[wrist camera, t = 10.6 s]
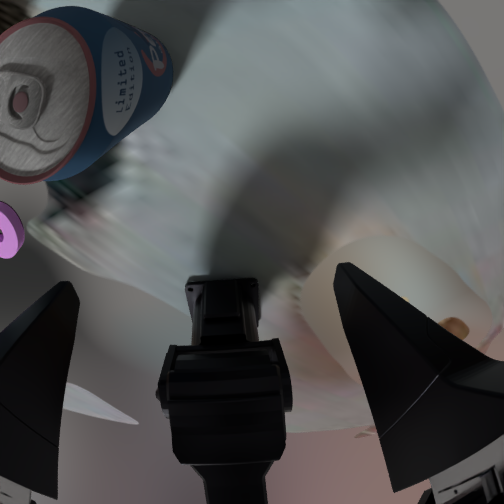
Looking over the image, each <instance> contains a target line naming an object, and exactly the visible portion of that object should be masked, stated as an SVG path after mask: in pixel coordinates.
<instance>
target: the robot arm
mask: <svg viewBox="0 0 504 504" xmlns="http://www.w3.org/2000/svg"><path fill="white" fill-rule="evenodd" d="M252 283H254V284H253V285H252ZM190 287H191V288H192V289H190ZM333 287H334V292H335V296H336V300H337V304H338V308H339V313H340V316H341V321H342V325H343V329H344V332H345V335H346V338H347V340H348V343H349V346H350V349H351V352H352V354H353V357H354V360H355V363H356V366H357V369H358V372H359V375H360V378H361V381H362V384H363V387H364V390H365V394H366V397H367V400H368V403H369V406H370V410H371V413H372V416H373V419H374V423H375V426H376V429H377V433H378V436H379V438H380V439H379V440H380V444H381V447H382V451H383V454H384V458H385V462H386V466H387V469H388V473H389V477H390V481H391V485H392V489H393V492H394V493H395V492H398V491H401V490H403V489H405V488H408V487H410V486H412V485H415V484H417V483H420V482H422V481H424V480H426V479H428V478H429V480H430V484H431V487H432V488H430V489H428V490H426V491H424V493H423V495H422V496H421V498H420V500H419V502H418V504H504V361H498V360H494V359H492V358H490V357H488V356H486V355H484V354H483V353H481V352H480V351H478V350H477V349H475V348H473V347H472V346H470V345H469V344H467V343H466V342H464V341H462V340H461V339H459V338H458V337H456V336H455V335H453V334H452V333H450V332H449V331H447V330H446V329H444V328H443V327H442V326H440V325H439V324H437V323H436V322H434V321H433V320H432V319H430V318H429V317H427V316H426V315H425V314H424V313H422V312H421V311H419V310H418V309H417V308H415V307H414V306H412V305H411V304H410V303H408V302H407V301H405V300H404V299H403V298H401V297H400V296H398V295H397V294H396V293H394V292H393V291H391V290H390V289H388V288H387V287H385V286H384V285H383V284H381V283H380V282H378V281H377V280H375V279H374V278H373V277H371V276H369V275H368V274H367V273H365V272H364V271H362V270H361V269H359V268H358V267H356V266H355V265H353V264H352V263H350V262H345V263H339V264H338V265H337V268H336V273H335V278H334V283H333ZM185 292H186V297H187V301H188V306H189V310H190V314H191V318H192V323H193V326H192V343H191V345H189V346H177V345H170V346H169V349H168V353H166V357H165V360H164V364H163V367H162V371H161V374H160V378H159V382H158V388H157V390H156V398H157V399H158V400H159V401H160V403H161V408H162V411H163V414H164V416H165V417H166V418H168V419H170V426H171V432H172V448H173V453H174V454H175V456H176V457H177V459H178V460H179V462H180V463H181V464H182V465H190V466H191V467H192V468H193V469H194V470H195V472H197V474H198V475H199V476H200V477H201V478H202V479H203V483H204V489H205V495H206V501H207V504H268V501H267V491H266V482H265V476H266V474H267V472H268V471H269V469H270V467H271V466H272V464H273V462H274V461H277V460H279V459H280V458H281V456H282V454H283V451H284V449H285V446H286V443H285V440H286V425H285V413H284V412H291V410H292V404H293V398H292V386H291V379H290V374H289V370H288V366H287V363H286V360H285V357H284V354H283V351H282V348H281V344H280V341H279V338H274V339H272V340H265V341H259V337H258V330H257V327H258V280H257V279H255V278H247V279H233V280H218V281H203V282H189V283H187V284H186V285H185ZM79 306H80V301H79V297H78V296H77V293H76V291H75V289H74V287H73V285H72V283H71V282H70V281H60V282H59V283H58V284H56V285H55V286H54V287H52V288H51V289H50V290H49V291H47V292H46V293H45V294H44V295H43V296H42V297H40V298H39V299H38V300H37V301H35V302H34V303H33V304H32V305H31V306H30V307H29V308H27V309H26V310H25V311H24V312H23V313H22V314H20V315H19V316H18V317H17V318H16V319H15V320H14V321H13V322H12V323H10V324H9V325H8V326H7V327H6V328H5V329H4V330H3V331H2V332H1V333H0V504H36V502H35V501H33V500H31V491H35V492H37V493H40V494H42V495H45V496H47V497H50V498H53V499H56V500H57V498H58V453H59V452H58V451H59V448H58V447H59V437H60V426H61V417H62V408H63V401H64V394H65V388H66V382H67V376H68V370H69V365H70V360H71V355H72V350H73V345H74V340H75V332H76V326H77V318H78V313H79Z"/></svg>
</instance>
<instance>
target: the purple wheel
mask: <svg viewBox="0 0 504 504" xmlns="http://www.w3.org/2000/svg"><path fill="white" fill-rule="evenodd" d="M0 229H1V230H2V233H0V257H2V258H11V257H13V256H14V255H15V254H16V252H17V251H18V250H19V249H20V247H21V246H22V244H23V242H24V238H25V235H24V234H25V233H24V227H23V224H22V221H21V219H20V217H19V216H18V214H17V212H16V211H15V210H14V209H13V208H12V207H11V206H10V205H8V204H7V203H5V202H3V201H0Z"/></svg>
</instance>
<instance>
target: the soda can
mask: <svg viewBox="0 0 504 504" xmlns="http://www.w3.org/2000/svg"><path fill="white" fill-rule="evenodd" d="M172 81H173V66H172V61H171V58H170V55H169V53H168V51H167V49H166V48H165V46H164V45H163V44H162V43H161V42H160V41H159V40H158V39H157V38H156V37H154V36H153V35H151V34H149V33H147V32H145V31H142V30H140V29H138V28H136V27H133V26H131V25H129V24H126V23H124V22H122V21H119V20H117V19H114V18H112V17H109V16H107V15H104V14H101V13H99V12H96V11H93V10H90V9H87V8H83V7H77V6H65V7H58V8H54V9H51V10H48V11H45V12H43V13H41V14H39V15H37V16H35V17H33V18H29V19H26V20H23V21H20V22H18V23H16V24H15V25H13V26H11V27H10V28H8V29H7V30H5V31H4V32H3V33H2V34H1V35H0V178H1V179H3V180H5V181H7V182H10V183H14V184H23V185H24V184H34V183H37V182H40V181H56V180H61V179H65V178H68V177H71V176H73V175H76V174H78V173H80V172H81V171H83V170H85V169H86V168H87V167H89V166H90V165H91V164H93V163H94V162H95V161H96V160H97V159H98V158H100V157H101V156H102V155H103V154H104V153H106V152H107V151H108V150H109V149H111V148H112V147H113V146H114V145H116V144H117V143H118V142H119V141H121V140H122V139H123V138H125V137H126V136H127V135H129V134H130V133H131V132H133V131H134V130H135V129H137V128H138V127H139V126H141V125H142V124H144V123H145V122H146V121H148V120H149V119H150V118H152V117H153V116H154V115H155V114H156V113H157V112H158V111H159V110H160V108H161V107H162V106H163V104H164V103H165V101H166V99H167V97H168V95H169V92H170V89H171V86H172Z"/></svg>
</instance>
